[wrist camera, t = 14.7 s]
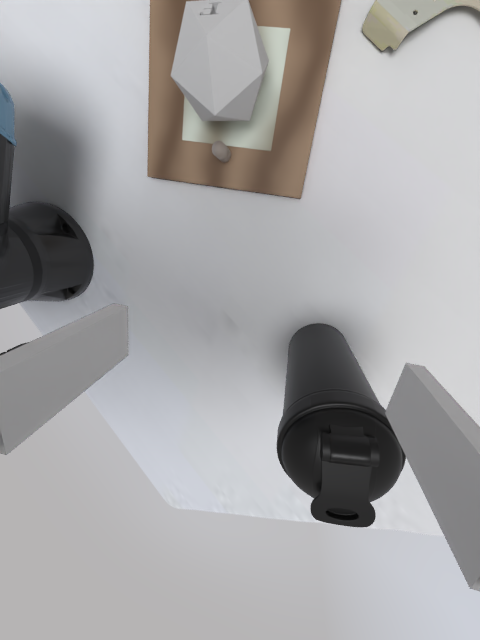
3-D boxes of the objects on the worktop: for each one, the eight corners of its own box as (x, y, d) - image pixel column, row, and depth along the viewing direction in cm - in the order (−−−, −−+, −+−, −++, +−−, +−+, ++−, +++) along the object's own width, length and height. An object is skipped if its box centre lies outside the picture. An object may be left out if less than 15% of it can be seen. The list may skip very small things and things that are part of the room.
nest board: (151, 177, 36) (135, 172, 33) (156, -29, 29) (135, -68, 25) (300, 198, 34) (301, 195, 30) (345, -20, 27) (353, -60, 23)
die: (273, 37, 28) (264, -52, 19) (266, 137, 32) (256, 103, 22) (195, 41, 30) (152, -40, 20) (196, 137, 33) (158, 104, 24)
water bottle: (282, 377, 43) (274, 528, 22) (283, 317, 40) (274, 426, 19) (349, 381, 41) (411, 550, 20) (356, 318, 38) (439, 441, 17)
